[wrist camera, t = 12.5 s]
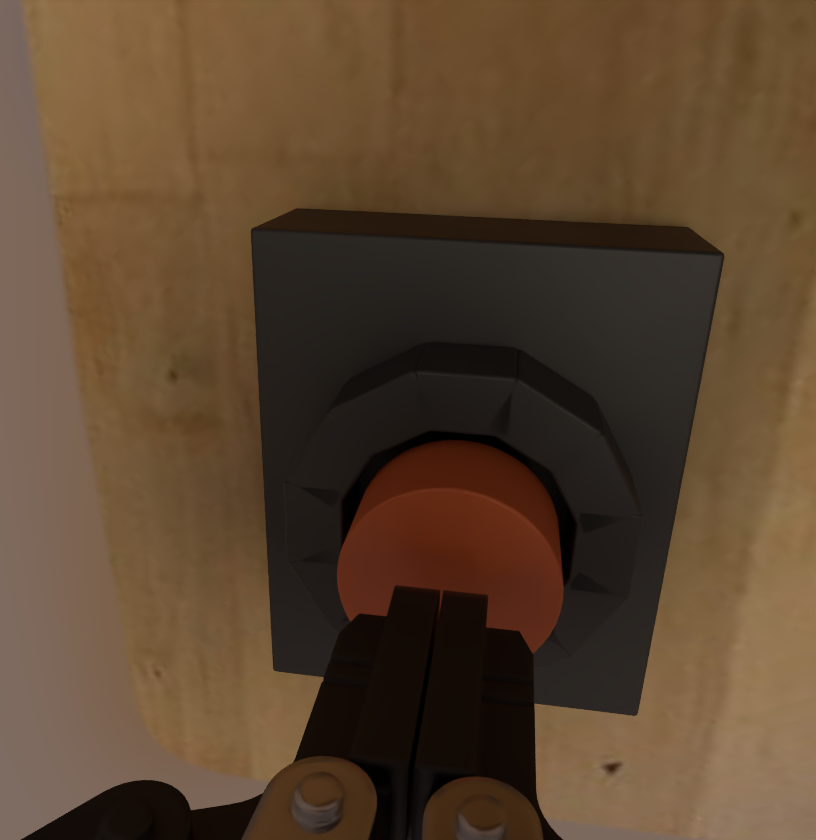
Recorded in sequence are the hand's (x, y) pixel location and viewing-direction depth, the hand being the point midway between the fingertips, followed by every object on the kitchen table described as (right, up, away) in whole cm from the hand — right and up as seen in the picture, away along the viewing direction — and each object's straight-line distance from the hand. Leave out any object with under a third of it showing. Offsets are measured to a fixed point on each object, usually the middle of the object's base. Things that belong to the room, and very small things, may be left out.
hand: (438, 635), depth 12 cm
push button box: (+1, +3, +7) cm, 8 cm away
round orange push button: (+1, +1, +3) cm, 3 cm away
